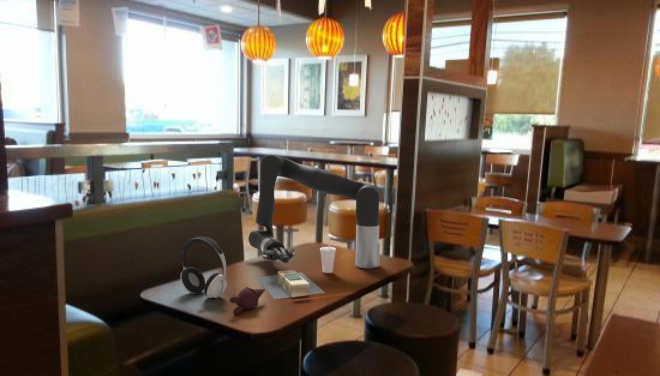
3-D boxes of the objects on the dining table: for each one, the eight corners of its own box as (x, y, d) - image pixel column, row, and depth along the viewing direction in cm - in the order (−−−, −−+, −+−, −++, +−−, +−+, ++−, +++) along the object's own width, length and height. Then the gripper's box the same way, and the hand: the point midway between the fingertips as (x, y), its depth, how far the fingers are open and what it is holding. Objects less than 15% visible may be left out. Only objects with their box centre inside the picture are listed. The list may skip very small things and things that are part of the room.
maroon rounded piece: (253, 279, 161) (220, 296, 149) (270, 278, 157) (237, 295, 145) (259, 299, 162) (226, 318, 150) (275, 299, 158) (243, 318, 145)
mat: (255, 278, 182) (255, 277, 182) (301, 273, 189) (301, 272, 189) (274, 300, 160) (274, 299, 160) (325, 294, 167) (325, 292, 167)
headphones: (234, 297, 163) (233, 238, 160) (216, 305, 155) (215, 243, 153) (191, 286, 172) (190, 230, 169) (173, 293, 165) (172, 235, 162)
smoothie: (334, 276, 187) (334, 240, 185) (317, 274, 188) (318, 239, 187) (337, 271, 193) (338, 236, 192) (321, 269, 195) (321, 235, 193)
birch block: (277, 270, 176) (292, 284, 162) (293, 269, 179) (309, 282, 164) (277, 282, 177) (291, 297, 162) (293, 280, 179) (309, 294, 165)
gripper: (255, 240, 189) (268, 251, 174) (288, 237, 195) (303, 248, 179) (255, 259, 190) (268, 272, 175) (288, 256, 196) (303, 268, 180)
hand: (286, 260), depth 177 cm, fingers closed
